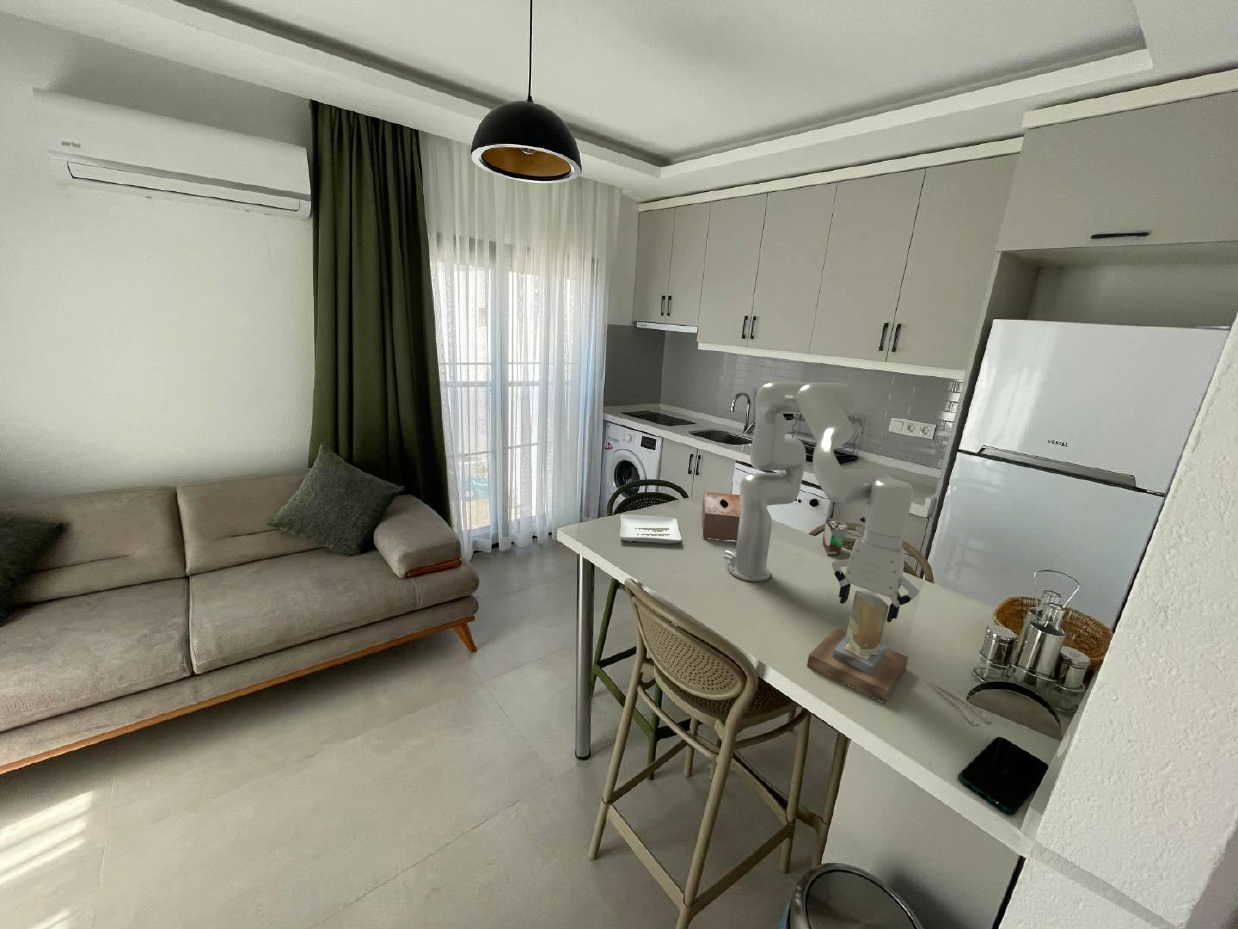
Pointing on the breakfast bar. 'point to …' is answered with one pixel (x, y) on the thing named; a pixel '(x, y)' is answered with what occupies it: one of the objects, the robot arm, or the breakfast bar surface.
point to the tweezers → (960, 703)
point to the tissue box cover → (720, 516)
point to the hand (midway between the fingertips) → (866, 610)
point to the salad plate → (640, 521)
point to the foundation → (858, 665)
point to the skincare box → (866, 622)
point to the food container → (834, 536)
